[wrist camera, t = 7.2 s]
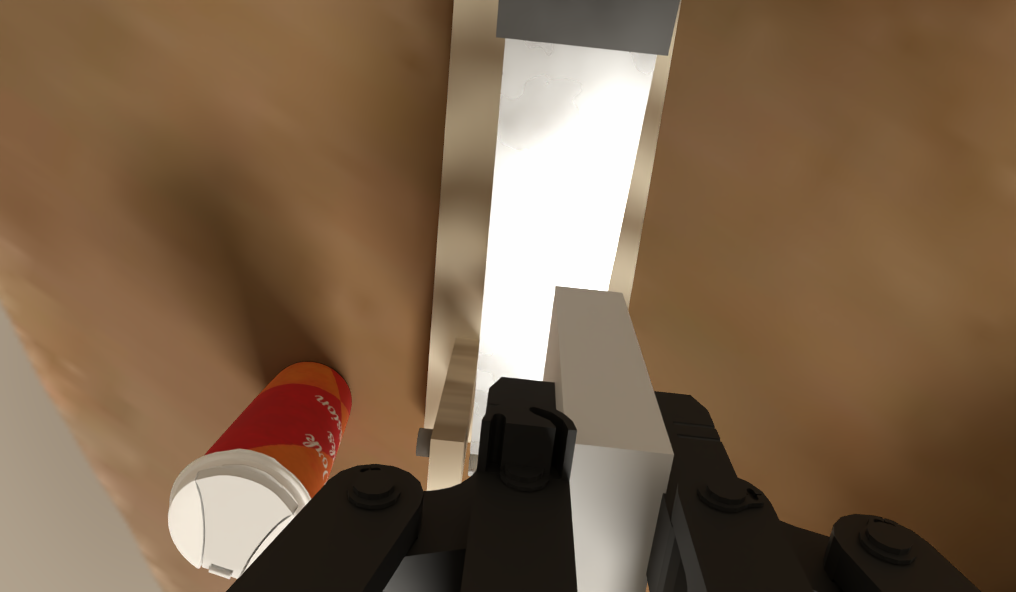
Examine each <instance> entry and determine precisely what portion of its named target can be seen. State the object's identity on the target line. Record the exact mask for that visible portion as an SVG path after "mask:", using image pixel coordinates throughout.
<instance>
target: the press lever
mask: <svg viewBox="0 0 1016 592" xmlns="http://www.w3.org/2000/svg"><path fill="white" fill-rule="evenodd" d="M679 3H680V0H499V2H498V15H497V28H496V37H498V38H505V48H504V60H503V72H502V84H501V95H500V107H499V119H498V131H497V142H496V154H495V166H494V178H493V189H492V201H491V213H490V224H489V236H488V248H487V260H486V271H485V283H484V295H483V307H482V318H481V330H480V342H479V354H478V365H477V377H476V389H475V401H474V412H473V424H472V436H471V447H470V458H469V470H468V476H472V475H473V473H474V472H475V471H476V469H477V461H478V451H479V442H480V432H481V422H482V419H483V417H484V415H485V413H486V406H487V399H488V391H489V388H490V387H491V386H492V385H493V384H494V383H495V382H496V381H498V380H499V379H500V378H501V377H510V378H519V379H528V380H537V381H543V375H544V367H545V359H546V352H547V344H548V337H549V329H550V321H551V314H552V306H553V299H554V291H555V285H556V286H565V287H574V288H584V289H593V290H602V291H608V286H609V282H610V277H611V272H612V267H613V262H614V258H615V253H616V248H617V243H618V239H619V234H620V229H621V224H622V220H623V215H624V210H625V205H626V201H627V196H628V191H629V186H630V182H631V177H632V172H633V167H634V163H635V158H636V153H637V148H638V144H639V139H640V134H641V129H642V124H643V120H644V115H645V110H646V105H647V101H648V96H649V91H650V86H651V82H652V77H653V72H654V67H655V63H656V58H657V55H664V56H668V53H669V49H670V44H671V40H672V35H673V30H674V26H675V21H676V17H677V12H678V8H679Z"/></svg>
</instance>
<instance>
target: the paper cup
mask: <svg viewBox="0 0 1016 592" xmlns="http://www.w3.org/2000/svg"><path fill="white" fill-rule="evenodd" d="M351 405H352V398H351V392H350V389H349V387H348V385H347V383H346V382H345V380H344V379H343V378H342V376H341V375H340V374H338V373H337V372H336V371H335V370H333V369H332V368H330V367H328V366H326V365H323V364H320V363H316V362H299V363H295V364H292V365H290V366H288V367H287V368H285V369H284V370H282V371H281V372H280V373H279V374H278V375H277V376H276V377H275V378H274V379H273V380H272V381H271V382H270V383H269V384H268V385H267V386H266V387H265V388H264V389H263V390H262V392H261V393H260V394H259V395H258V396H257V397H256V398H255V399H254V400H253V401H252V403H251V404H250V405H249V406H248V407H247V408H246V409H245V410H244V411H243V412H242V414H241V415H240V416H239V417H238V418H237V419H236V420H235V421H234V422H233V424H232V425H231V426H230V427H229V428H228V429H227V430H226V431H225V433H224V434H223V435H222V436H221V437H220V438H219V439H218V440H217V441H216V443H215V444H214V445H213V446H212V447H211V448H210V449H209V450H208V451H207V453H206V454H205V455H204V456H202V457H200V458H198V459H196V460H194V461H193V462H192V463H190V464H189V465H187V466H186V467H185V468H184V469H183V470H182V471H181V473H180V474H179V475H178V477H177V479H176V480H175V482H174V484H173V487H172V489H171V494H170V506H169V512H168V525H169V530H170V534H171V537H172V539H173V542H174V543H175V545H176V547H177V548H178V550H179V551H180V552H181V554H182V555H183V556H184V557H185V558H186V559H187V560H188V561H189V562H190V563H191V564H192V565H194V566H195V567H197V568H198V569H199V568H200V567H201V565H202V567H204V568H207V569H209V572H210V573H213V574H216V575H219V576H222V577H225V578H228V579H230V577H234V578H237V579H238V578H239V577H240V576H241V575H242V574H243V573H244V572H245V570H246V569H247V568H248V567H249V566H250V565H251V564H252V563H253V562H254V561H255V560H256V559H257V557H258V556H259V555H260V554H261V553H262V552H263V551H264V550H265V549H266V548H267V547H268V545H269V544H270V543H271V542H272V541H273V540H274V539H275V538H276V537H277V536H278V535H279V534H280V532H281V531H282V530H283V529H284V528H285V527H286V526H287V525H288V524H289V523H290V522H291V520H292V519H293V518H294V517H295V516H296V515H297V514H298V513H299V512H300V511H301V510H302V508H303V507H304V506H305V505H306V504H307V503H308V502H309V501H310V500H311V499H312V498H313V497H314V495H315V494H316V493H317V492H318V491H319V490H320V489H321V488H322V487H323V486H324V485H325V483H326V482H327V480H328V477H329V474H330V471H331V468H332V466H333V463H334V460H335V457H336V454H337V451H338V448H339V445H340V442H341V439H342V436H343V433H344V431H345V428H346V424H347V421H348V418H349V415H350V411H351Z"/></svg>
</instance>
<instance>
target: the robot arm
mask: <svg viewBox="0 0 1016 592" xmlns="http://www.w3.org/2000/svg"><path fill="white" fill-rule="evenodd" d="M647 581H648V586H649V591H650V592H981V591H980V590H979V589H978V588H977V587H976V586H975V585H973V584H972V583H971V582H970V581H969V580H968V579H967V578H966V577H965V576H964V575H963V574H962V573H960V572H959V571H958V570H957V569H956V568H955V567H954V566H953V565H952V564H951V563H950V562H949V561H948V560H946V559H945V558H944V557H943V556H942V555H941V554H940V553H939V552H938V551H937V550H936V549H935V548H933V547H932V546H931V545H930V544H929V543H928V542H927V541H925V540H924V539H922V538H921V537H920V536H918V535H917V534H916V533H914V532H913V531H911V530H909V529H907V528H905V527H903V526H901V525H899V524H898V523H896V522H894V521H891V520H889V519H886V518H885V519H883V518H882V517H878V516H872V515H860V514H853V515H848V516H844V517H841V518H840V519H839V520H838V521H837V522H836V523H835V524H834V525H833V529H832V532H831V535H830V537H828V536H824V535H821V534H818V533H815V532H811V531H808V530H805V529H802V528H798V527H795V526H793V525H790V524H787V523H785V522H782V521H780V520H779V518H778V516H777V514H776V512H775V510H774V508H773V506H772V504H771V502H770V501H769V500H768V498H767V497H766V496H765V495H764V493H763V492H762V491H760V490H759V489H758V488H756V487H755V486H753V485H752V484H750V483H749V482H747V481H745V480H742V479H740V478H738V477H737V475H736V473H735V471H734V468H733V466H732V464H731V462H730V459H729V457H728V455H727V453H726V450H725V448H724V446H723V444H722V442H720V437H719V435H718V432H717V430H716V429H714V423H713V421H712V419H711V417H710V414H709V412H708V410H707V409H706V408H705V407H703V406H702V405H701V404H700V403H699V402H698V401H697V400H695V399H694V398H693V397H692V396H691V395H684V394H675V393H666V392H656V391H654V390H653V387H652V384H651V381H650V378H649V375H648V371H647V368H646V365H645V362H644V359H643V356H642V353H641V349H640V346H639V343H638V340H637V337H636V334H635V331H634V328H633V324H632V321H631V318H630V315H629V312H628V309H627V306H626V302H625V299H624V296H623V293H620V292H611V291H602V290H593V289H584V288H574V287H565V286H556V285H555V291H554V299H553V306H552V314H551V321H550V329H549V337H548V344H547V352H546V359H545V367H544V375H543V381H537V380H528V379H519V378H510V377H501V378H500V379H499V380H498V381H496V382H495V383H494V384H493V385H492V386H491V387H490V388H489V391H488V399H487V406H486V413H485V415H484V417H483V419H482V422H481V432H480V442H479V451H478V461H477V469H476V471H475V472H474V473H473V475H472V476H471V477H470V478H468V479H467V480H465V481H464V482H462V483H460V484H457V485H455V486H452V487H449V488H444V489H438V490H431V491H423V489H422V487H421V484H420V482H419V481H418V480H417V479H416V478H415V477H414V476H413V475H412V474H410V473H409V472H407V471H404V470H402V469H399V468H397V467H394V466H387V465H380V464H370V465H359V466H355V467H352V468H349V469H346V470H343V471H341V472H339V473H338V474H336V475H335V476H334V477H332V478H331V479H330V480H328V481H327V482H326V483H325V485H324V486H323V487H322V488H321V489H320V490H319V491H318V492H317V493H316V494H315V495H314V497H313V498H312V499H311V500H310V501H309V502H308V503H307V504H306V505H305V506H304V507H303V508H302V510H301V511H300V512H299V513H298V514H297V515H296V516H295V517H294V518H293V519H292V520H291V522H290V523H289V524H288V525H287V526H286V527H285V528H284V529H283V530H282V531H281V532H280V534H279V535H278V536H277V537H276V538H275V539H274V540H273V541H272V542H271V543H270V544H269V545H268V547H267V548H266V549H265V550H264V551H263V552H262V553H261V554H260V555H259V556H258V557H257V559H256V560H255V561H254V562H253V563H252V564H251V565H250V566H249V567H248V568H247V569H246V570H245V572H244V573H243V574H242V575H241V576H240V577H239V578H238V579H237V580H236V581H235V582H234V584H233V585H232V586H231V587H230V588H229V589H228V590H227V591H226V592H645V591H646V586H647Z"/></svg>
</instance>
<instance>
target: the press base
mask: <svg viewBox="0 0 1016 592" xmlns="http://www.w3.org/2000/svg"><path fill="white" fill-rule="evenodd" d="M498 2H499V0H454V9H453V23H452V37H451V51H450V66H449V80H448V94H447V109H446V123H445V137H444V151H443V166H442V180H441V194H440V208H439V223H438V237H437V251H436V265H435V280H434V294H433V308H432V322H431V337H430V351H429V365H428V379H427V394H426V408H425V422H424V428H420V429H419V433H418V438H417V446H416V456H423V457H429V468H428V482H427V491H431V490H438V489H444V488H449V487H452V486H455V485H457V484H460V483H461V481H462V475H463V469H464V462H465V456H466V450H467V443H468V442H471V436H472V424H473V412H474V401H475V389H476V377H477V365H478V354H479V342H480V330H481V318H482V307H483V295H484V283H485V271H486V260H487V248H488V236H489V224H490V213H491V201H492V189H493V178H494V166H495V154H496V142H497V131H498V119H499V107H500V95H501V84H502V72H503V60H504V48H505V38H498V37H496V28H497V15H498ZM680 5H681V0H680V3H679V8H678V12H677V17H676V21H675V26H674V30H673V35H672V40H671V44H670V49H669V53H668V56H664V55H657V58H656V63H655V67H654V72H653V77H652V82H651V86H650V91H649V96H648V101H647V105H646V110H645V115H644V120H643V124H642V129H641V134H640V139H639V144H638V148H637V153H636V158H635V163H634V167H633V172H632V177H631V182H630V186H629V191H628V196H627V201H626V205H625V210H624V215H623V220H622V224H621V229H620V234H619V239H618V243H617V248H616V253H615V258H614V262H613V267H612V272H611V277H610V282H609V286H608V291H611V292H620V293H623V296H624V299H625V302H626V306H627V309H628V308H629V302H630V296H631V290H632V285H633V279H634V273H635V267H636V261H637V256H638V250H639V244H640V238H641V232H642V226H643V221H644V215H645V209H646V203H647V197H648V192H649V186H650V180H651V174H652V168H653V162H654V157H655V151H656V145H657V139H658V133H659V128H660V122H661V116H662V110H663V104H664V98H665V93H666V87H667V81H668V75H669V69H670V64H671V58H672V52H673V46H674V40H675V34H676V29H677V23H678V17H679V11H680Z"/></svg>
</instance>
